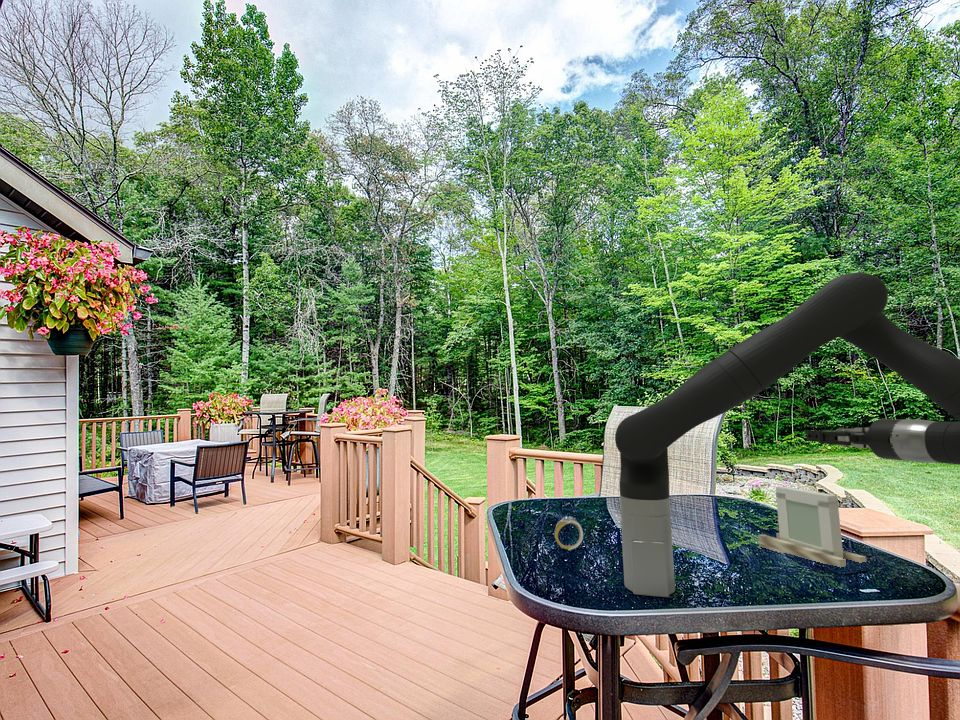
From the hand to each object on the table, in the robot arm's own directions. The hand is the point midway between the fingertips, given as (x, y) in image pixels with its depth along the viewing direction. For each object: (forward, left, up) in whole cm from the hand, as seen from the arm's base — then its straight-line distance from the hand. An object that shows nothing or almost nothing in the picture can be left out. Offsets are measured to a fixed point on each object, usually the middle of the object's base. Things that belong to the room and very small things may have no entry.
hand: (822, 435), depth 99 cm
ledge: (+8, +2, -28) cm, 29 cm away
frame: (+8, +2, -27) cm, 28 cm away
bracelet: (+3, +55, -28) cm, 62 cm away
